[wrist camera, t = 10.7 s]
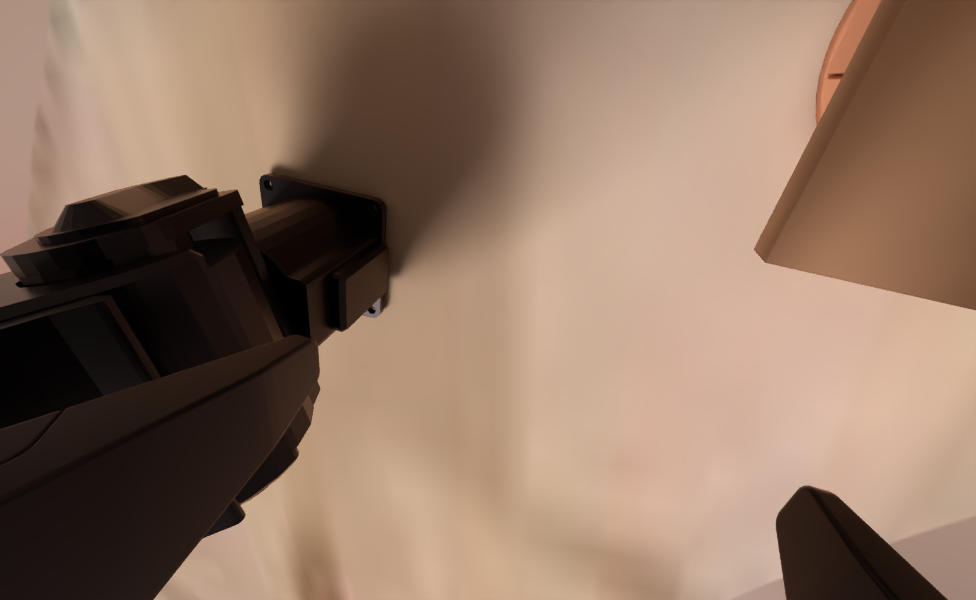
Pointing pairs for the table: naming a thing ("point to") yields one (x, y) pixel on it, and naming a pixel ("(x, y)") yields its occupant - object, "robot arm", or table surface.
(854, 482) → the table surface
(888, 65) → the lid
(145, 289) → the robot arm
